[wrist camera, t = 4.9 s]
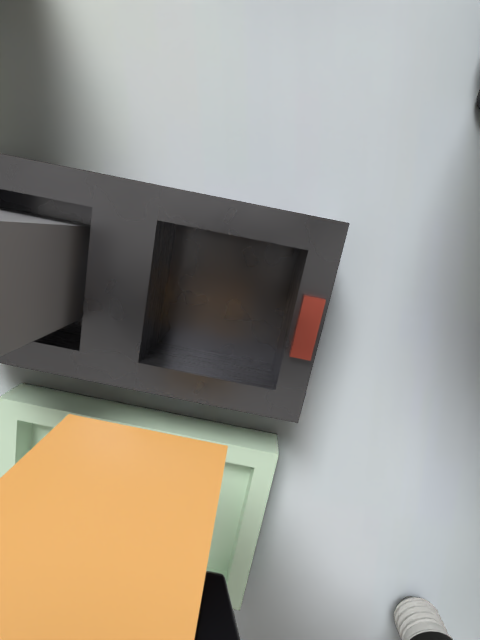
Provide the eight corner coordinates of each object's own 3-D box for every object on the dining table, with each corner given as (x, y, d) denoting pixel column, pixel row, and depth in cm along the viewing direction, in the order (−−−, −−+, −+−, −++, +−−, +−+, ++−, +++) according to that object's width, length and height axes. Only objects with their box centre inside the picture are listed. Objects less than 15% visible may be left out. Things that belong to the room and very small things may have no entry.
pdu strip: (327, 226, 16) (351, 222, 12) (289, 383, 18) (298, 426, 14) (-10, 159, 16) (-101, 132, 12) (-14, 322, 18) (-94, 347, 14)
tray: (276, 434, 19) (278, 454, 17) (241, 579, 21) (239, 610, 20) (21, 382, 19) (-2, 397, 17) (14, 534, 21) (-8, 560, 20)
